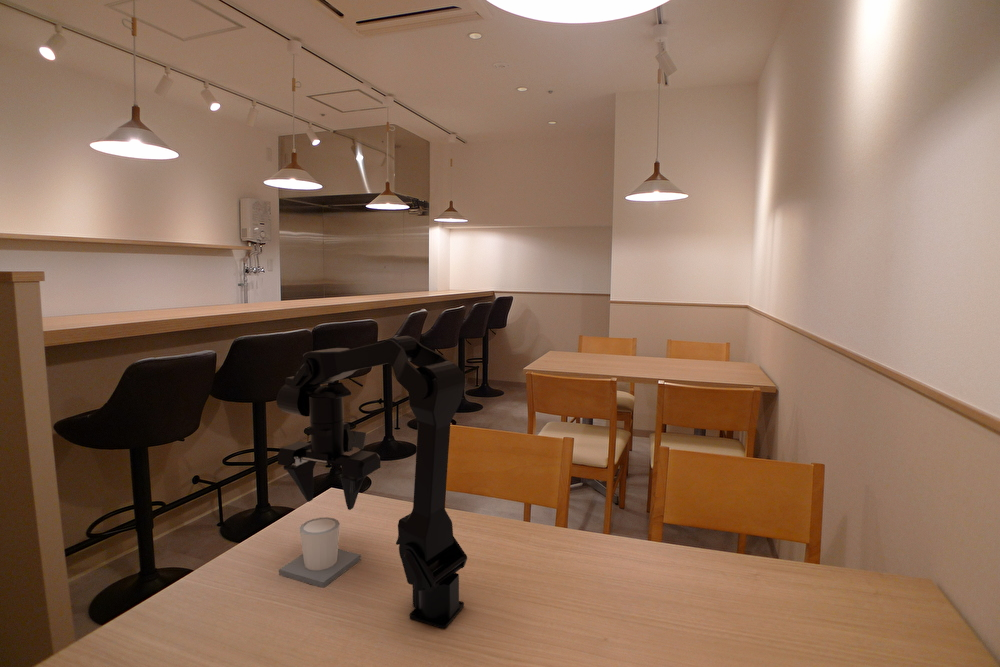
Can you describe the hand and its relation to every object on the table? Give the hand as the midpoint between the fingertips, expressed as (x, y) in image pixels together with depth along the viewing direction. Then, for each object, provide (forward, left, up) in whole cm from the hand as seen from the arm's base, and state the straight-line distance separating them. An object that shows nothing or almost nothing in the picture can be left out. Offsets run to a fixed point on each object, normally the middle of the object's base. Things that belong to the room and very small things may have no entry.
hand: (330, 504), depth 96 cm
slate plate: (+2, +1, -12) cm, 12 cm away
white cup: (+2, +1, -11) cm, 11 cm away
